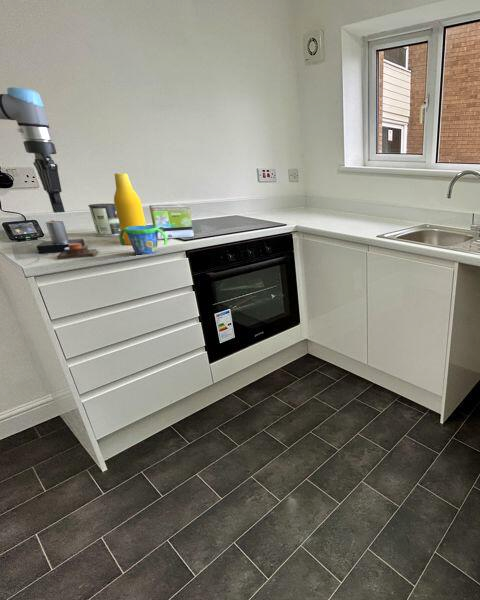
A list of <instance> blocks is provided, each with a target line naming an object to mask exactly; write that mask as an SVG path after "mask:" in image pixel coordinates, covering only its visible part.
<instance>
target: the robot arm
mask: <svg viewBox="0 0 480 600" xmlns="http://www.w3.org/2000/svg"><path fill="white" fill-rule="evenodd" d="M0 120H5V121H6V120H7V121H9V120H10V121H16V123H17V126H18V128H17V132H18V133H20V136H21V138H22V140H24V141H23V146H24V150H25V152H26V153H28V154H34V161H33V166H34V168H35V170H36V172H37V174H38V177H39V180H40V182H41V185H42V188H43V190H44V191H45V192H46V193H47V195H48V198H49V202H50V205H51V208H52V212H53V213H56V214H57V213H65V212H66V211H65V207H64V203H63V200H62V197H61V193H62V192H63V191H62V185H61V181H60V175H59V168H58V167H59V166H58V164H57V163H55V161H54V160H53V157H52V156H51V155H56V154H57V149H56V146H55V143H54V142H52V141H54V137H53V133H52V131H51V128H50V125H49V122H48V118H47V113H46V110H45V105H44V103H43V101H42V97H41V94H39V92H38V91H36V90H34V89H30V88H24V87H15V86H14V87H12V86H10V87H9V86H8V87H7V88H6V93H0Z"/></svg>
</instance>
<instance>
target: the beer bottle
mask: <svg viewBox="0 0 480 600" xmlns="http://www.w3.org/2000/svg"><path fill="white" fill-rule="evenodd" d="M114 181H115V192H114V195H113V204H115V208H116V212H117V215H118V219H119V223H120V227H121V231H122V230H124V229H125V228H126V227H131V226H147V222H146V219H145V213H144V210H143V205H142V200H141V199H140V197H139V195H138V194H137V193H136V191H135V190H134V188H133V186H132V184H131V180H130V178H129V175H128V173H126V172H125V173H124V172H123V173H122V172H121V173H119V172H116V173H115V172H114ZM123 239H124V241H125V245H127V246H132V245H131V242H130V240H129V237H128V235H127V233H126V232H125V231H124V232H123Z"/></svg>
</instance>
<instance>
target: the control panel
mask: <svg viewBox="0 0 480 600" xmlns="http://www.w3.org/2000/svg"><path fill="white" fill-rule="evenodd" d="M73 243H81V245H82V246H86V242H85V240H84V238H74V239H69V242H66V243H52V241H51V240H43V241H42V242H40V243H38V245H36V249H37V250H36V251H37V253H38V254H40V255H41V254H57V253H61V252H63V251H64V248H67V247H69V244H73Z"/></svg>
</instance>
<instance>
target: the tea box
mask: <svg viewBox="0 0 480 600" xmlns="http://www.w3.org/2000/svg"><path fill="white" fill-rule="evenodd" d="M148 207H149V212H150V217H151V221H152V226H156V227H157V228H158V229H161V230H162V231H163V232H164V233H165V235H166V237H167V239H180V238H182V239H183V238H194V228H193V221H192V216H191V211H190V206H189V205H187V204H151V205H149V206H148ZM157 239H158V241H159V240H164V236H163V235H162V234H161V233H160V232H159V231H158V235H157Z"/></svg>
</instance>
